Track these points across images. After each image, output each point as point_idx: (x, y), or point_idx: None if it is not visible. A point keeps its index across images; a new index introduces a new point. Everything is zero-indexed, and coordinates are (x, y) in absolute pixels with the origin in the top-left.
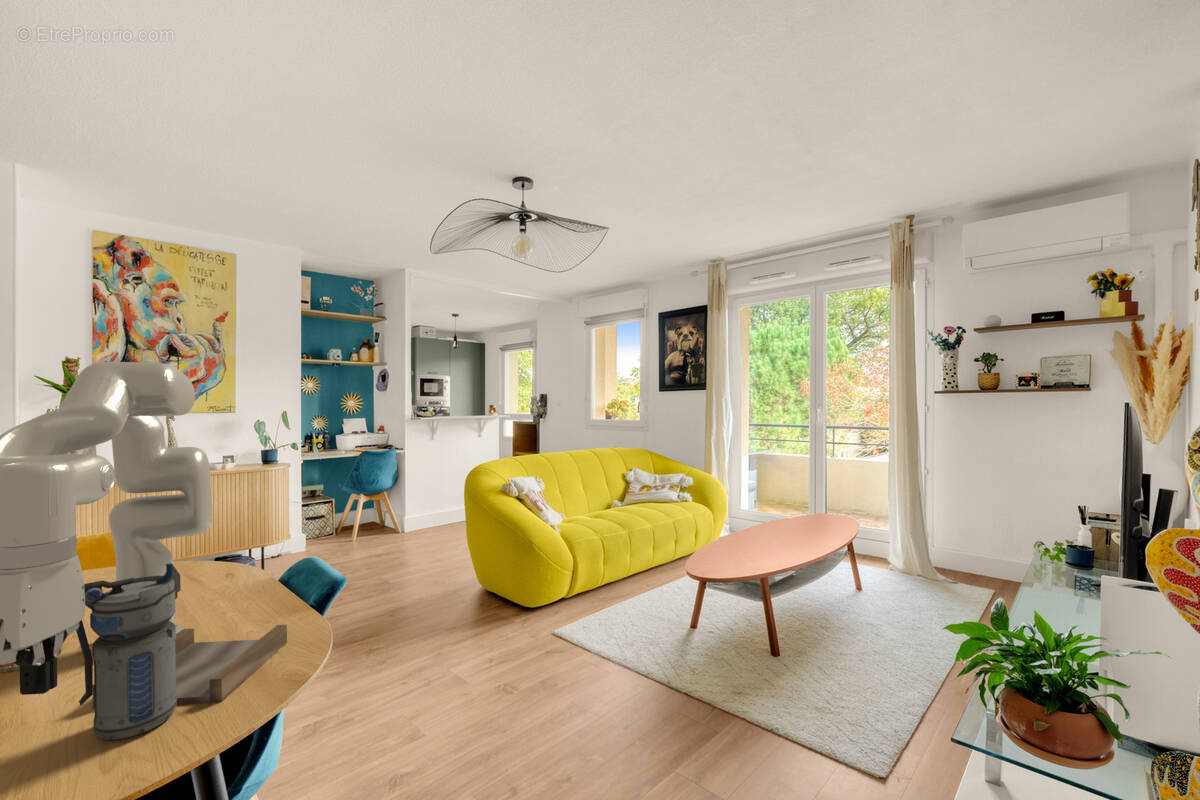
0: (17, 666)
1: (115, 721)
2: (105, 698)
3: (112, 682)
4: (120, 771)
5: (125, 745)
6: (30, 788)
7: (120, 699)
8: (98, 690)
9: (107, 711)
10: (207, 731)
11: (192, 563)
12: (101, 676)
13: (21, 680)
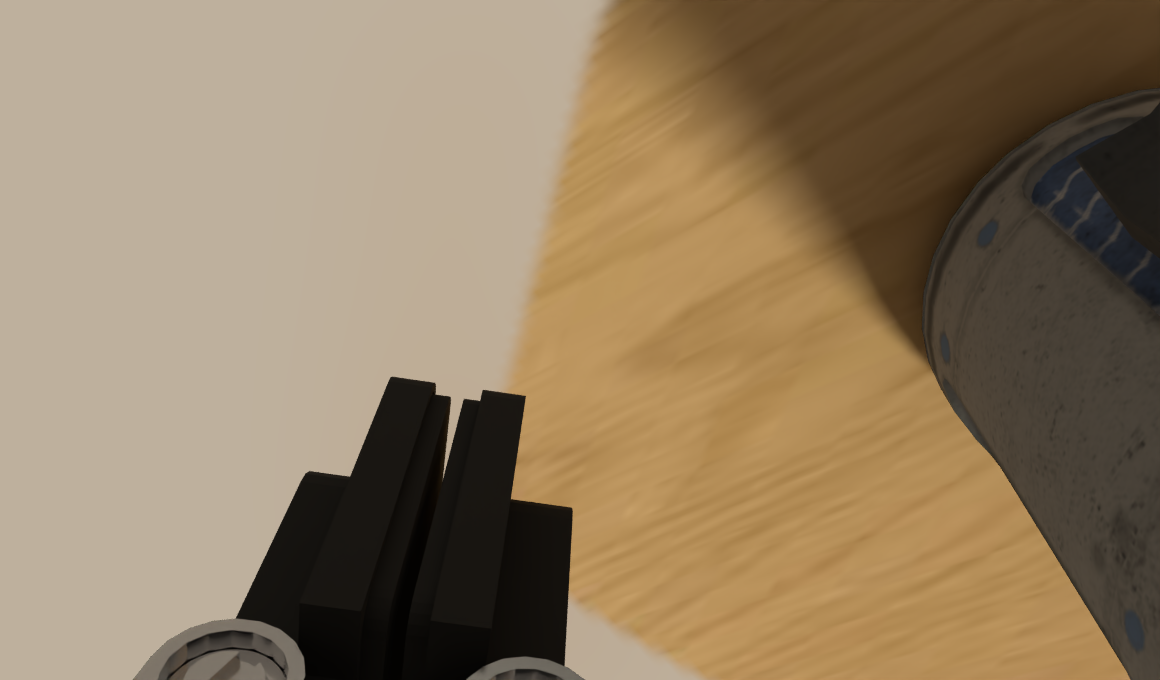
0: (204, 643)
1: (950, 324)
2: (1034, 343)
3: (1061, 462)
4: (629, 413)
5: (872, 321)
6: (600, 62)
7: (998, 423)
8: (1100, 314)
9: (991, 311)
10: (853, 618)
11: None
12: (1132, 411)
13: (280, 534)
